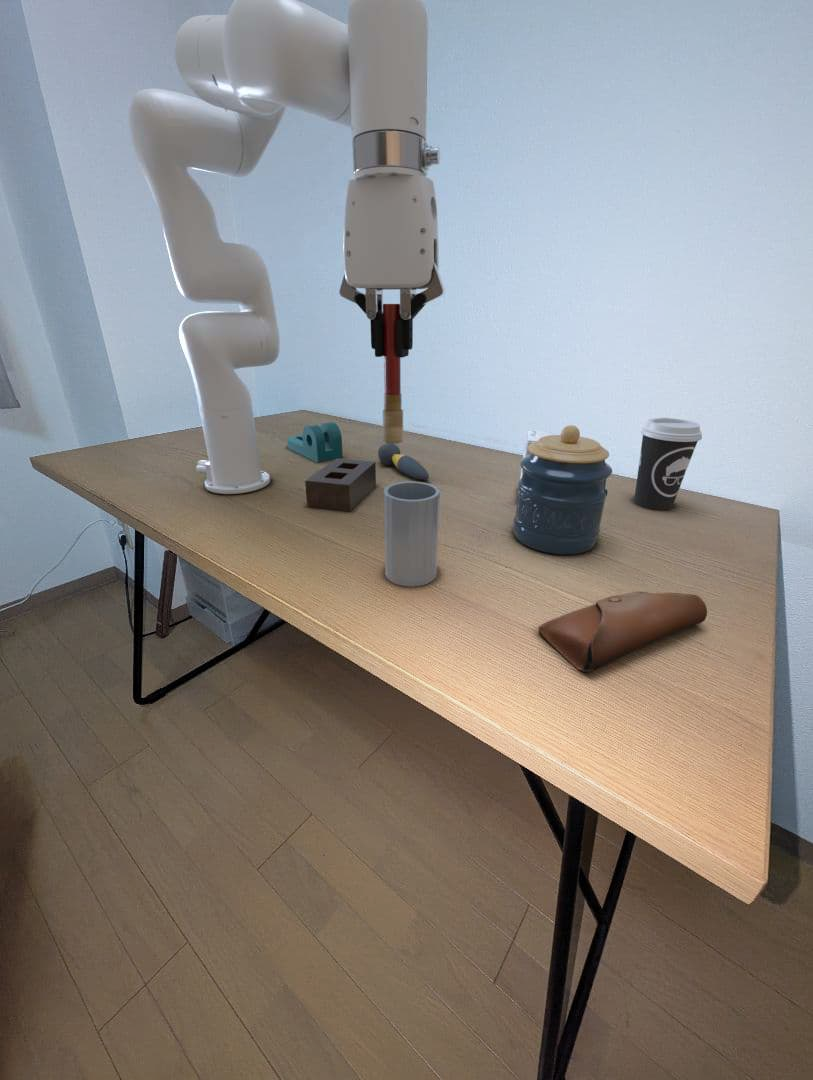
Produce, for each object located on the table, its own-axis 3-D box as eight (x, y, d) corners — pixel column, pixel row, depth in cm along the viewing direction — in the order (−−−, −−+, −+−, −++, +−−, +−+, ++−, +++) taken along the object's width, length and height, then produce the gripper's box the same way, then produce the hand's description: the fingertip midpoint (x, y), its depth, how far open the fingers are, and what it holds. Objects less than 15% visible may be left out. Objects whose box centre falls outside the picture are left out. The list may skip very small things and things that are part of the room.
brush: (380, 443, 60) (377, 303, 53) (386, 438, 63) (384, 304, 56) (400, 444, 60) (399, 303, 53) (405, 439, 62) (405, 304, 55)
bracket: (342, 457, 113) (340, 424, 110) (317, 462, 109) (315, 428, 106) (307, 442, 126) (304, 412, 122) (283, 446, 122) (280, 415, 118)
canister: (526, 514, 83) (539, 413, 75) (604, 531, 77) (627, 422, 69) (500, 543, 73) (512, 429, 65) (587, 564, 67) (612, 441, 59)
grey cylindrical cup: (378, 582, 62) (376, 497, 57) (393, 558, 68) (393, 479, 63) (430, 590, 61) (433, 503, 55) (440, 564, 67) (444, 484, 61)
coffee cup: (680, 499, 90) (702, 419, 83) (683, 517, 82) (708, 431, 75) (626, 491, 93) (643, 414, 87) (624, 508, 86) (642, 425, 79)
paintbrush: (441, 479, 99) (442, 456, 97) (423, 484, 96) (423, 461, 94) (386, 458, 113) (386, 437, 111) (369, 462, 110) (368, 441, 108)
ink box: (545, 506, 86) (555, 442, 81) (517, 504, 87) (525, 440, 82) (544, 490, 94) (552, 431, 88) (518, 488, 95) (525, 429, 89)
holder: (307, 506, 86) (304, 480, 83) (337, 481, 98) (336, 458, 96) (350, 511, 84) (349, 485, 81) (376, 485, 96) (375, 461, 94)
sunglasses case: (640, 588, 60) (676, 560, 55) (676, 637, 57) (719, 613, 52) (532, 628, 53) (562, 600, 47) (566, 687, 49) (603, 665, 44)
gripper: (471, 169, 50) (462, 355, 58) (332, 179, 54) (342, 352, 62) (460, 148, 43) (451, 360, 52) (302, 161, 47) (318, 357, 55)
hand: (392, 354), depth 57 cm, fingers closed on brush, 2 cm apart
